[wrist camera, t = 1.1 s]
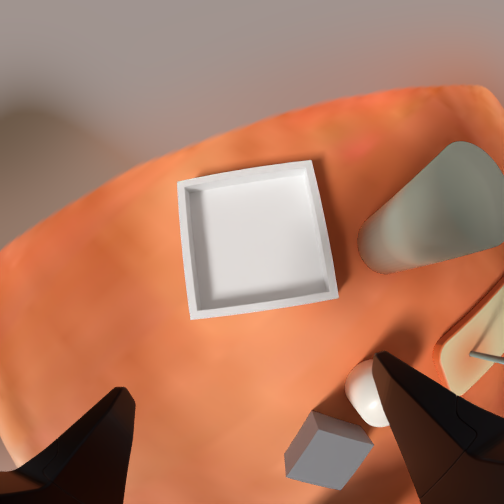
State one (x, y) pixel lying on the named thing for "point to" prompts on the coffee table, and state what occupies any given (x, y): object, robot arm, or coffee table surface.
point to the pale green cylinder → (438, 213)
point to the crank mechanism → (472, 344)
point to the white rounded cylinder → (365, 394)
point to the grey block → (326, 451)
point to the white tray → (254, 240)
